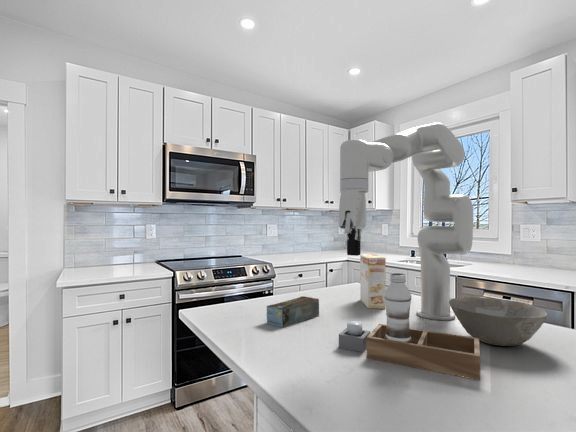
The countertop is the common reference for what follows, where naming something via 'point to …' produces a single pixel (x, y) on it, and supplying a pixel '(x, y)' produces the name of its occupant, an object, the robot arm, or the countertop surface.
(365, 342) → the button housing
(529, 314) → the ceramic bowl
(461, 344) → the walnut bottle rack
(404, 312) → the plastic bottle
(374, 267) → the coffeecake box
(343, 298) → the countertop surface
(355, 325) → the white domed push button
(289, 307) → the brown-grey rectangular block
